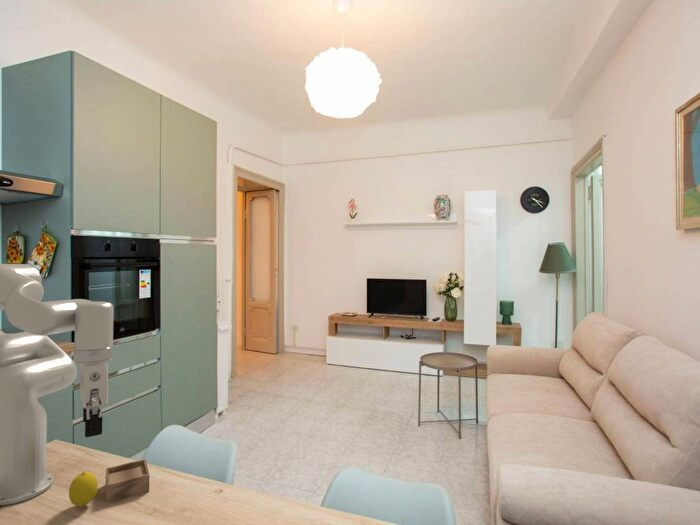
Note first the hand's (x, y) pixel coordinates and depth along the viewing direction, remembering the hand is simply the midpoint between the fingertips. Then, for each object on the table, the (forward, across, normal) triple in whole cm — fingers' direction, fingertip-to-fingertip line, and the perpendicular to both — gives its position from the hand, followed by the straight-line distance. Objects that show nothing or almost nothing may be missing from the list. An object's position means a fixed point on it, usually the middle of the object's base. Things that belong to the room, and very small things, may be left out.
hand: (92, 427), depth 90 cm
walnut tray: (+18, +3, -8) cm, 20 cm away
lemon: (+18, 0, +1) cm, 18 cm away
